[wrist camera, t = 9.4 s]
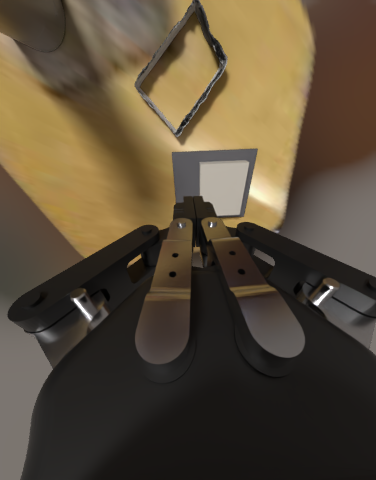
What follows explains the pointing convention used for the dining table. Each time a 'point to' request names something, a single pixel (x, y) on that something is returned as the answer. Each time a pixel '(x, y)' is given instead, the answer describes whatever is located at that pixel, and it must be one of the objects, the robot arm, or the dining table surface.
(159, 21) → the dining table surface
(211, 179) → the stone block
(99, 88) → the dining table surface
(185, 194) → the rubber mat
